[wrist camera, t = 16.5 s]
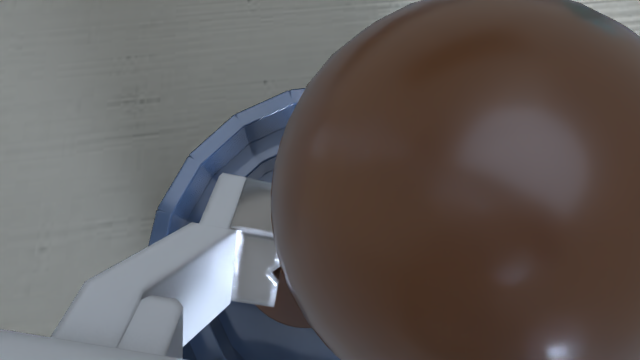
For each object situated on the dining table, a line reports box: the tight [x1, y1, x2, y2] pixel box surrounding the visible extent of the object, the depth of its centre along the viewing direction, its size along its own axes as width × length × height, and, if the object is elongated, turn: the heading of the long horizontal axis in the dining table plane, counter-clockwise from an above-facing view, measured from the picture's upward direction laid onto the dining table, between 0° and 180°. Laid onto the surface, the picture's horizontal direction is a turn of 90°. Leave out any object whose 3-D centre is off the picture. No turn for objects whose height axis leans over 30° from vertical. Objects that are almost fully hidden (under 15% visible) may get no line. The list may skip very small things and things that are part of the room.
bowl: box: [148, 88, 340, 360], centre depth 21 cm, size 14×14×6 cm
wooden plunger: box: [255, 0, 640, 360], centre depth 12 cm, size 6×6×21 cm
